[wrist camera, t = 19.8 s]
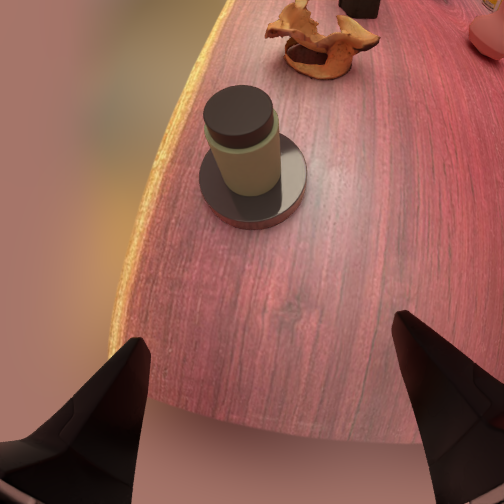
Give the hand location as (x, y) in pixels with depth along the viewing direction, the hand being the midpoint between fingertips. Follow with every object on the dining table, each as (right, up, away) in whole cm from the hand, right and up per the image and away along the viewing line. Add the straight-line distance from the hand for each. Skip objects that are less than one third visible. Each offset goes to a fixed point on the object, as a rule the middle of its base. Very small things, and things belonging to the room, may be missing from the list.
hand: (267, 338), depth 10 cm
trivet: (0, +9, +16) cm, 19 cm away
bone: (+7, +25, +19) cm, 33 cm away
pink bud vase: (+37, +36, +19) cm, 55 cm away
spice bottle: (-1, +10, +14) cm, 17 cm away
